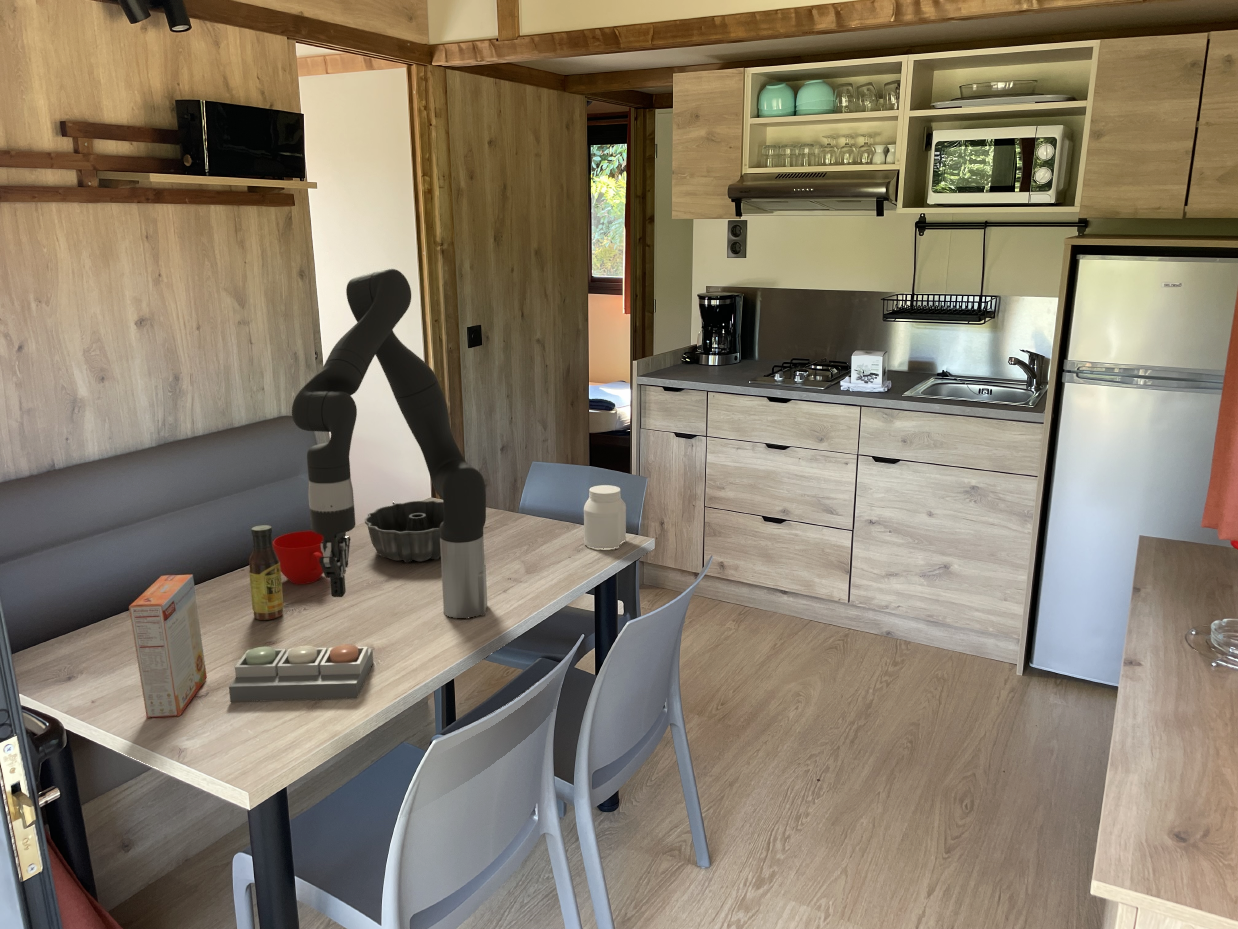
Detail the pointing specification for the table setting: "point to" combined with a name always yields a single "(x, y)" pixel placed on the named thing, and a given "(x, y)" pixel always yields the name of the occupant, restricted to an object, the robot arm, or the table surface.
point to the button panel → (300, 678)
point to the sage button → (260, 656)
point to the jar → (604, 517)
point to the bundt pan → (407, 530)
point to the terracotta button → (344, 654)
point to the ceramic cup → (300, 556)
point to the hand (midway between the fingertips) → (338, 595)
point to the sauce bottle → (265, 576)
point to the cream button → (302, 655)
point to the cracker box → (168, 645)
